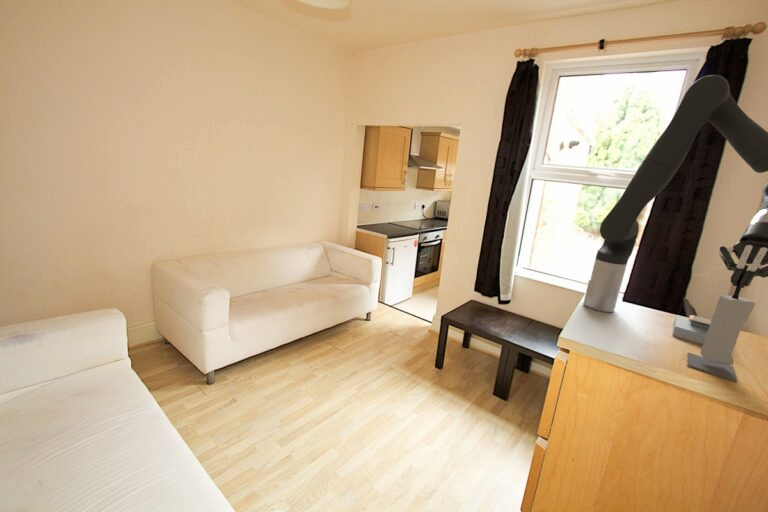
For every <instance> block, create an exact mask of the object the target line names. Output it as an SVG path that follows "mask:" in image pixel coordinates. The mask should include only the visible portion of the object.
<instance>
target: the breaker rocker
mask: <svg viewBox="0 0 768 512" xmlns="http://www.w3.org/2000/svg"><path fill="white" fill-rule="evenodd" d="M688 318H689V319H692V320H696V321H700V322H704V323H707V324H710V323H711V321H712V319H709V318H706V317H702V316H697V315H695V314H694V315H692V314H691V315H689V317H688Z"/></svg>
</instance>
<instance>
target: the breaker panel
mask: <svg viewBox="0 0 768 512" xmlns="http://www.w3.org/2000/svg"><path fill="white" fill-rule="evenodd" d="M709 326H710V324H707V323H704V322H700V321H696V320H692V319H689V317H687V316H682V315H679V314H676V315H675V318H674V321H673V325H672V336H674V337H677V338H679V339H680V338H681V339H683V340H687V341H690V342H694V343H697V344H701V345H703V344H704V341H705V338H706V335H707V332H708V329H709Z"/></svg>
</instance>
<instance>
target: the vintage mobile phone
mask: <svg viewBox="0 0 768 512" xmlns="http://www.w3.org/2000/svg"><path fill="white" fill-rule="evenodd" d="M748 269H749V265H745V266H744V269H743V272H742V275H741V277H740V280H739V283H738V285H737V286H735V289H734V292H733V295H730V294H729V295H727V294H721V295H720V296H719V298H718V301H717V304H716V306H715V309H714V311H713V315H712V318H711V320H712V321H711V323H710V326H709V329H708V332H707V335H706V338H705V341H704V344H702V347H701V350H700V353H699V354H700V356H702V357H704V358H706V359H707V360H708V361H709V362H715V363H721V364H727V365H731V366H733V364H734V358H733V354H732V353H733V351H734V348H735V347H736V343H737V341H738V338H739V335H740V333H741V329H742V327H743V325H745V323H746V322H747V321H748V320H749V317H750V315H751V313H752V312H753V309H754V307H755V305H756V302H755V301H753V300H751V299H749V298H746V297H742V296H739V295H740V292H741V290H742V288H741V287H740V282H741V280H742V278H743V276H744V274H745V273H746V271H748Z"/></svg>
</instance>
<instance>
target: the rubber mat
mask: <svg viewBox="0 0 768 512" xmlns="http://www.w3.org/2000/svg"><path fill="white" fill-rule="evenodd" d="M686 355H687V356H686V357H687V367H689V368H692V369H695V370H697V371H700V372H703V373H707V374H709V373H710V374H709V375H712V374H713V376H715V375H716V377H719V378H722V377H723V378H722V379H725V380H728V381H730V382H731V381H732V382H734V383H737V381H738V380H737V375H736V372H735V368H734V365H727V364H721V363H715V362H709V361H708V360H707V359H706V358H704V357H703V356H702V355H698V354H695V353H691V352H687V354H686Z"/></svg>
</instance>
